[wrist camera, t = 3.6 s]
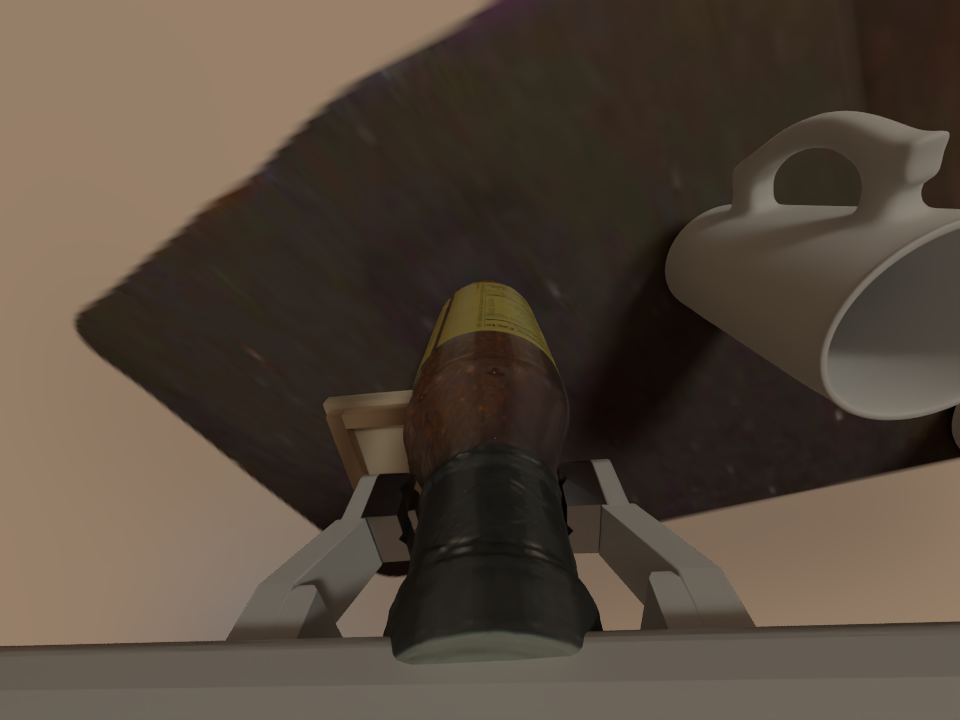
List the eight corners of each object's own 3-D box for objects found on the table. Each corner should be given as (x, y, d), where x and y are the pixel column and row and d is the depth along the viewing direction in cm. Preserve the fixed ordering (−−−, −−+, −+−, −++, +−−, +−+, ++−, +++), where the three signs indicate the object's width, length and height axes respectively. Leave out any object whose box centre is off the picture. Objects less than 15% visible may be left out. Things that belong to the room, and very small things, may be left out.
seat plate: (509, 381, 26) (510, 396, 24) (521, 513, 32) (523, 532, 30) (328, 397, 27) (316, 412, 25) (373, 521, 33) (367, 540, 31)
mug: (774, 292, 22) (1040, 390, 11) (666, 325, 23) (814, 440, 13) (776, 114, 18) (1195, 3, 7) (644, 164, 19) (837, 132, 8)
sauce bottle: (481, 377, 26) (454, 808, 8) (422, 315, 24) (202, 702, 6) (555, 323, 24) (747, 742, 6) (497, 250, 22) (513, 544, 4)
